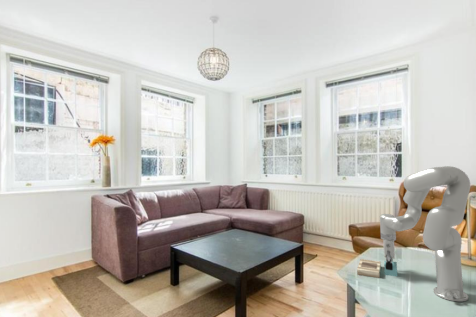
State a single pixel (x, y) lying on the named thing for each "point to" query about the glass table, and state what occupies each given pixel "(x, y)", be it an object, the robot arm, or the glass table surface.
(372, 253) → the glass table surface
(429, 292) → the glass table surface
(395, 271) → the teal block
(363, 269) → the birch base
